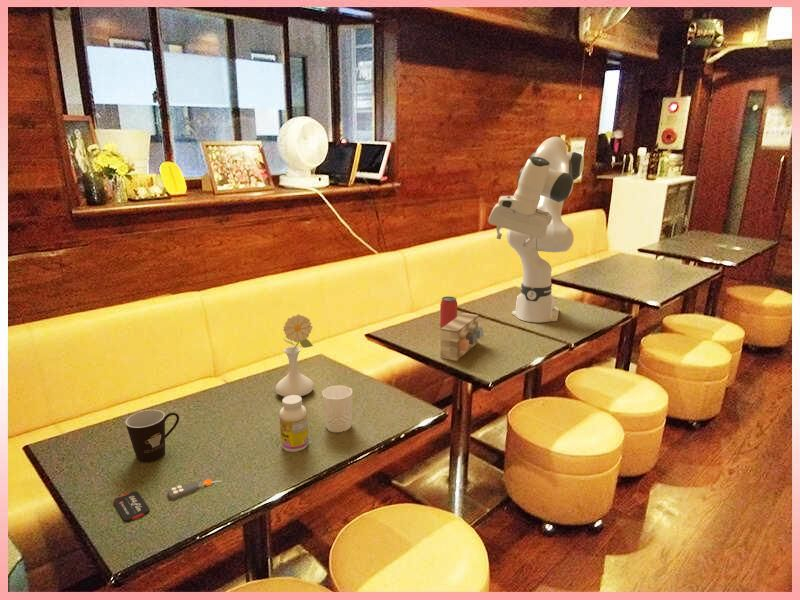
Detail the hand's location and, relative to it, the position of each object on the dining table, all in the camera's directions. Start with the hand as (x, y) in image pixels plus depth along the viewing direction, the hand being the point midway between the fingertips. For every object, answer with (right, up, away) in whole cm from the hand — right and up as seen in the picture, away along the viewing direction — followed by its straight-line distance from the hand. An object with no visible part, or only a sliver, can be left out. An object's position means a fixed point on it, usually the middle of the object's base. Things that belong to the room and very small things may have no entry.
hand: (511, 242), depth 198 cm
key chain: (-84, -62, -73) cm, 127 cm away
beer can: (-20, -31, +23) cm, 44 cm away
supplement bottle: (-65, -57, -58) cm, 104 cm away
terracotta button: (-18, -37, -8) cm, 42 cm away
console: (-18, -38, +1) cm, 42 cm away
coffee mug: (-98, -58, -61) cm, 129 cm away
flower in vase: (-70, -48, -30) cm, 90 cm away
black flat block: (-96, -64, -80) cm, 140 cm away
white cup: (-55, -54, -49) cm, 92 cm away
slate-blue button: (-12, -33, +3) cm, 36 cm away
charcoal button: (-15, -35, -2) cm, 38 cm away
